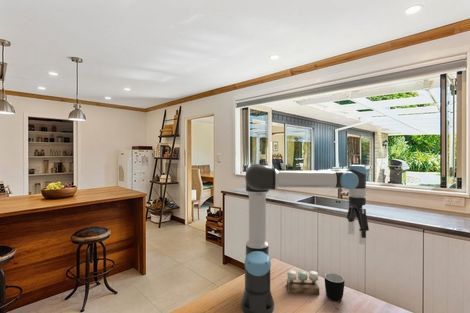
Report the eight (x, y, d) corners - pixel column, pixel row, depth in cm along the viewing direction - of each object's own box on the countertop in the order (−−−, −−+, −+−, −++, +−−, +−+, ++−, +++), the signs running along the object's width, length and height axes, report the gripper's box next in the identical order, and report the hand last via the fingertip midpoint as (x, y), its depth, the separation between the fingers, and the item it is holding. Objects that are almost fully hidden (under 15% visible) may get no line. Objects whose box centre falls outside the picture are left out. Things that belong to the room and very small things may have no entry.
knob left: (288, 284, 127) (288, 274, 127) (286, 280, 132) (287, 270, 131) (296, 285, 127) (296, 274, 127) (295, 280, 131) (295, 270, 131)
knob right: (310, 285, 126) (310, 275, 126) (308, 280, 131) (308, 270, 131) (318, 285, 126) (319, 275, 126) (316, 281, 130) (316, 271, 130)
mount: (288, 293, 125) (289, 287, 125) (286, 284, 133) (286, 278, 133) (319, 294, 124) (319, 288, 124) (315, 285, 132) (315, 280, 132)
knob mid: (299, 285, 127) (299, 274, 127) (297, 280, 131) (297, 270, 131) (307, 285, 126) (307, 274, 126) (306, 280, 131) (306, 270, 131)
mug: (346, 304, 116) (347, 283, 116) (326, 302, 118) (327, 281, 117) (339, 290, 128) (339, 270, 128) (321, 288, 129) (321, 269, 129)
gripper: (377, 201, 110) (376, 249, 111) (354, 192, 135) (354, 230, 136) (360, 201, 111) (359, 248, 111) (340, 191, 136) (340, 230, 136)
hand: (356, 238), depth 124 cm, fingers open, 13 cm apart
